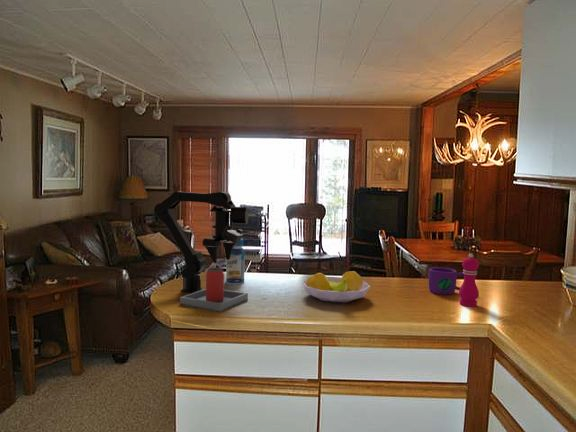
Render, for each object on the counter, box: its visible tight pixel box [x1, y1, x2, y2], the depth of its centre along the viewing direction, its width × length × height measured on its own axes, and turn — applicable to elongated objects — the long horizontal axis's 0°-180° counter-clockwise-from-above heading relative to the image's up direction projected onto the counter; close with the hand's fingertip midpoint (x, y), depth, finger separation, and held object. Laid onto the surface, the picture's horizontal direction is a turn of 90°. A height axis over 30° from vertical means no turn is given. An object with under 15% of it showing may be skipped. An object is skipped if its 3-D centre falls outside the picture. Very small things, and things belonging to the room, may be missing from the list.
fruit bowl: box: [302, 270, 371, 304], centre depth 178 cm, size 28×27×11 cm
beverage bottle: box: [225, 238, 246, 285], centre depth 201 cm, size 8×8×20 cm
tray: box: [179, 288, 249, 313], centre depth 169 cm, size 18×18×3 cm
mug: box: [428, 266, 464, 296], centre depth 192 cm, size 17×11×10 cm, turn 83°
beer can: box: [205, 267, 225, 302], centre depth 168 cm, size 7×7×12 cm
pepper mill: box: [458, 253, 480, 308], centre depth 174 cm, size 7×7×20 cm
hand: (221, 261), depth 182 cm, fingers open, 9 cm apart
